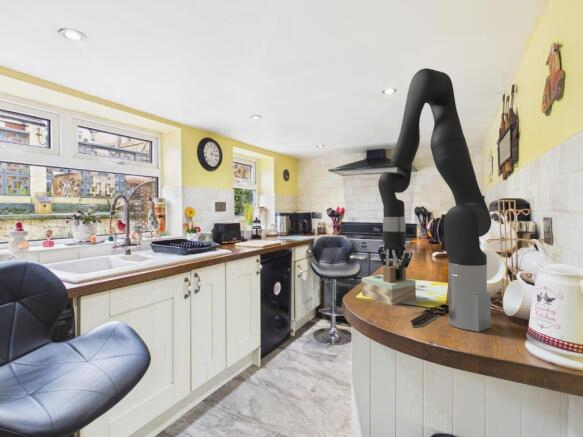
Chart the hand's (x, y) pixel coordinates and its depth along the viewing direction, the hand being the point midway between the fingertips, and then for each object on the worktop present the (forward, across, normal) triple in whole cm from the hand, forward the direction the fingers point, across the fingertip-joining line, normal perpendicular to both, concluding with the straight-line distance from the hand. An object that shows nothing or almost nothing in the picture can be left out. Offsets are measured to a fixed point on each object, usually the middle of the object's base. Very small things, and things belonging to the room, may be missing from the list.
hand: (394, 278), depth 109 cm
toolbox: (+8, -3, 0) cm, 9 cm away
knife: (+9, +16, -3) cm, 19 cm away
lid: (+2, -3, 0) cm, 4 cm away
